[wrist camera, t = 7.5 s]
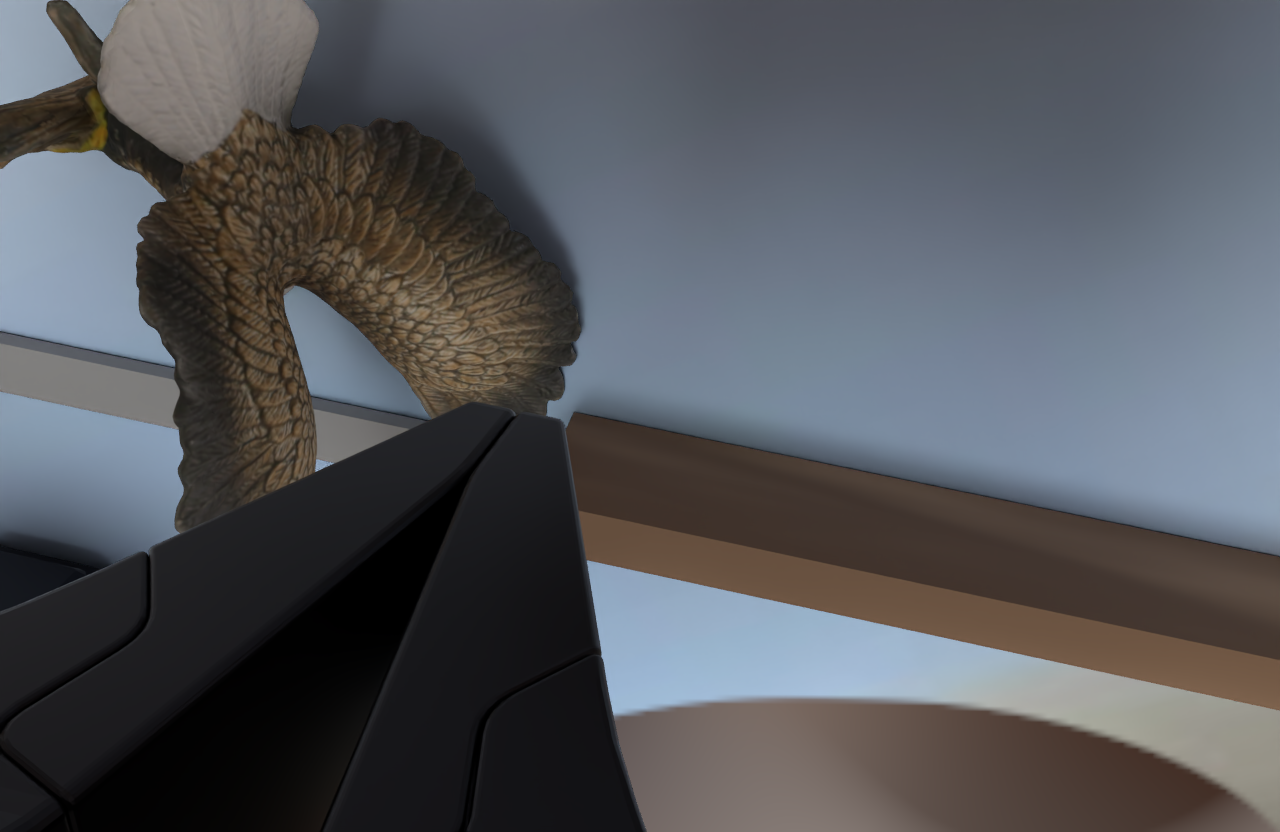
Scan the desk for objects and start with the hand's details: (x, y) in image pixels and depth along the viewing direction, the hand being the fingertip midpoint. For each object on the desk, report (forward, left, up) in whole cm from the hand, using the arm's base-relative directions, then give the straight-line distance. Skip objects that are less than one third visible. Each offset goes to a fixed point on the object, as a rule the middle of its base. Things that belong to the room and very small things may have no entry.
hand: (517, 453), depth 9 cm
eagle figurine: (-2, +6, -9) cm, 11 cm away
